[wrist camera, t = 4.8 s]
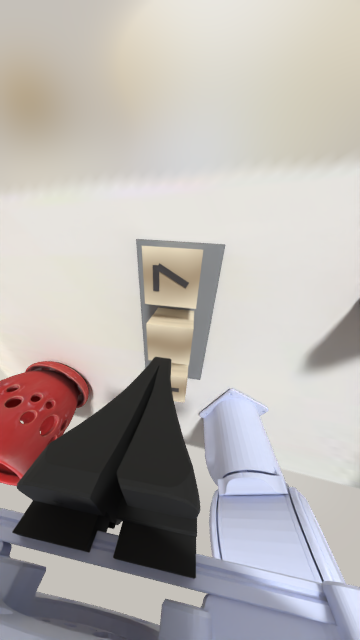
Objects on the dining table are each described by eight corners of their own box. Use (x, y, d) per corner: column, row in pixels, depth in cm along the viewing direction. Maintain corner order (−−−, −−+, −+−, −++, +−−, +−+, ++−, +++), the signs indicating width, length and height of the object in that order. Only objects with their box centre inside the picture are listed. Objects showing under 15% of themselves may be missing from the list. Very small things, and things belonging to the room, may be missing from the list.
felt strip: (200, 377, 22) (200, 379, 21) (146, 370, 22) (145, 372, 22) (224, 244, 13) (225, 244, 13) (137, 239, 14) (136, 239, 14)
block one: (186, 374, 21) (184, 403, 17) (159, 370, 21) (150, 398, 17) (189, 352, 19) (187, 378, 15) (158, 348, 19) (148, 373, 15)
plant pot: (90, 359, 23) (-5, 452, 12) (99, 405, 29) (41, 494, 18) (18, 345, 23) (-135, 422, 12) (42, 393, 29) (-48, 473, 18)
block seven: (196, 295, 15) (196, 309, 11) (158, 291, 16) (144, 304, 12) (201, 251, 13) (203, 249, 9) (157, 248, 14) (141, 245, 10)
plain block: (190, 341, 18) (189, 365, 14) (158, 337, 19) (148, 359, 14) (194, 310, 16) (193, 329, 12) (158, 307, 17) (146, 323, 13)
